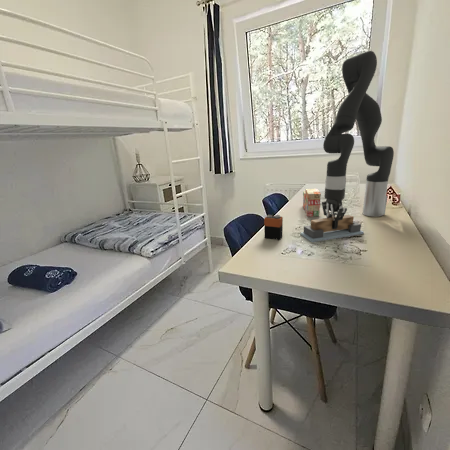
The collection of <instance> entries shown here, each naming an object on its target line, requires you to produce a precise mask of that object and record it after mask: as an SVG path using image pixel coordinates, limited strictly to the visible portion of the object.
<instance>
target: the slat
mask: <svg viewBox="0 0 450 450" xmlns="http://www.w3.org/2000/svg"><path fill="white" fill-rule="evenodd" d="M335 218H336V216H335ZM354 219H355V217H354V216H352V215H350V214H345V215H344V217H343V219H342V220H338V227H337V229H332V221H333V220H332V217H330V218H327V217H325V218H318V219H311V220H310V225H311V228H312V229H314V230H318V229H322V230H323V232H329V231H336V230H343V229H349V225H352V224H353V221H354Z"/></svg>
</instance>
